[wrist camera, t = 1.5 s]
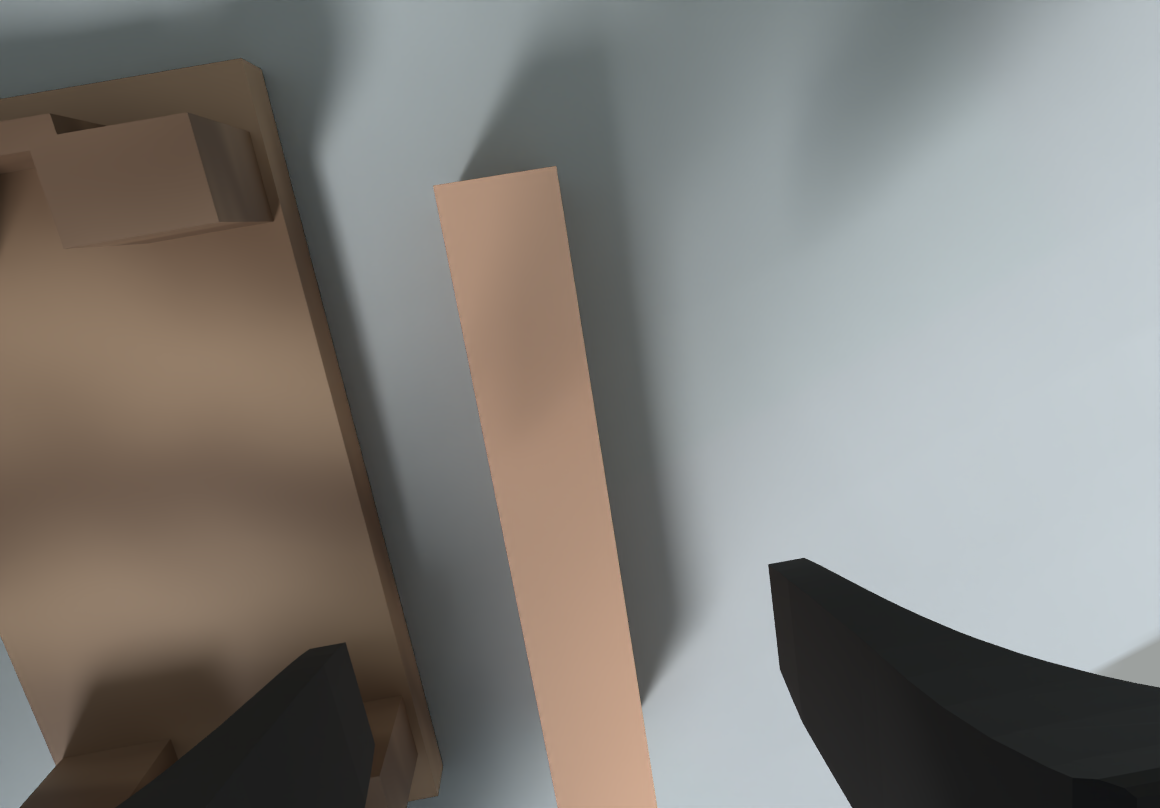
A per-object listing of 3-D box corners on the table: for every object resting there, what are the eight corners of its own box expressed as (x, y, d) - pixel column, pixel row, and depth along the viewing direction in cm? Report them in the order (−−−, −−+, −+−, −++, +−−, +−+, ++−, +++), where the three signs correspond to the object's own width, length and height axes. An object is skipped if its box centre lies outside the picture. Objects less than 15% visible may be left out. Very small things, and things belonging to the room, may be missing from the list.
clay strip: (636, 709, 22) (657, 811, 18) (556, 723, 22) (562, 828, 18) (551, 177, 18) (556, 166, 14) (454, 193, 18) (433, 185, 14)
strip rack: (443, 765, 22) (422, 888, 18) (119, 826, 22) (25, 964, 18) (261, 69, 17) (175, 21, 13) (-163, 141, 17) (-385, 115, 13)
